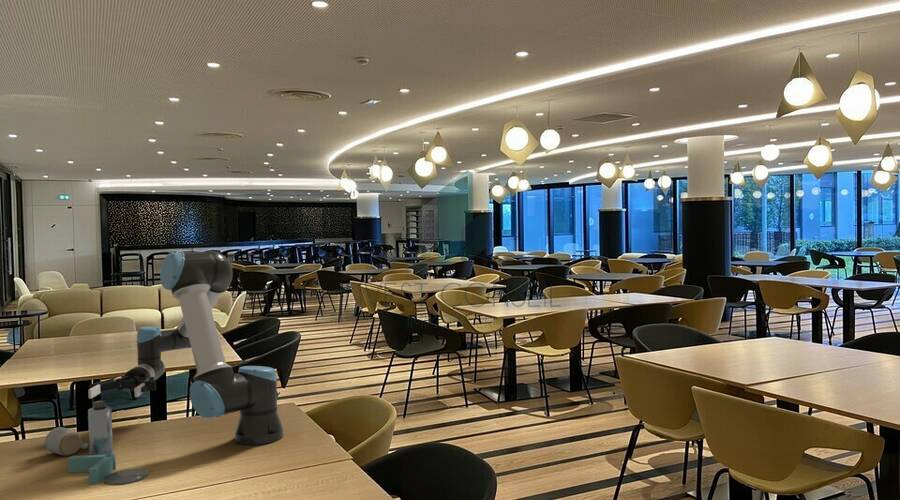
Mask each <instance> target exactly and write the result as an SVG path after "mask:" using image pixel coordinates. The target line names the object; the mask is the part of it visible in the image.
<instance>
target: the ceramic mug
mask: <svg viewBox="0 0 900 500" xmlns="http://www.w3.org/2000/svg"><path fill="white" fill-rule="evenodd" d="M82 440H83V439H82V437H81V435H80V434H79V433H78V432H76V431H74V430H70V429H68V428H66V427H62V426H59V427H55V428H53V429H51V430H50V431H49V432H48V433H47V435H46V437H45V439H44V445H45V448H46V450H47V451H49V453H51V454H52V453H53V454H56V455H60V456H62V457H63V456H65V457H67V456H69V457H70V456H73V455H74V454H76V453H77V452H78V451H79V450H80V449H84V450H87V449H88V447H89V446H88V445H89V442H88V443H87V442H84V441H82Z"/></svg>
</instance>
